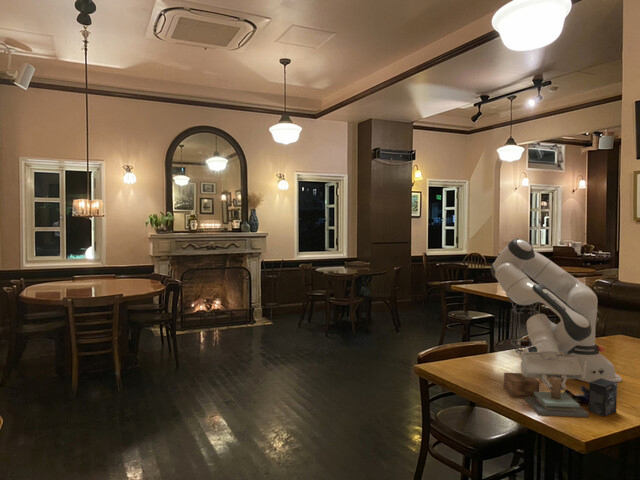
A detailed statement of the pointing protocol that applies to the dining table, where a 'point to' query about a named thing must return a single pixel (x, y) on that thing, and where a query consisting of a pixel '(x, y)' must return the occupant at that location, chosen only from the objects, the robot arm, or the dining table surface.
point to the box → (602, 397)
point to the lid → (556, 396)
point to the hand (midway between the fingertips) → (556, 388)
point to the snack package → (580, 398)
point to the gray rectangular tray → (555, 409)
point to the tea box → (520, 385)
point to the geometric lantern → (519, 325)
